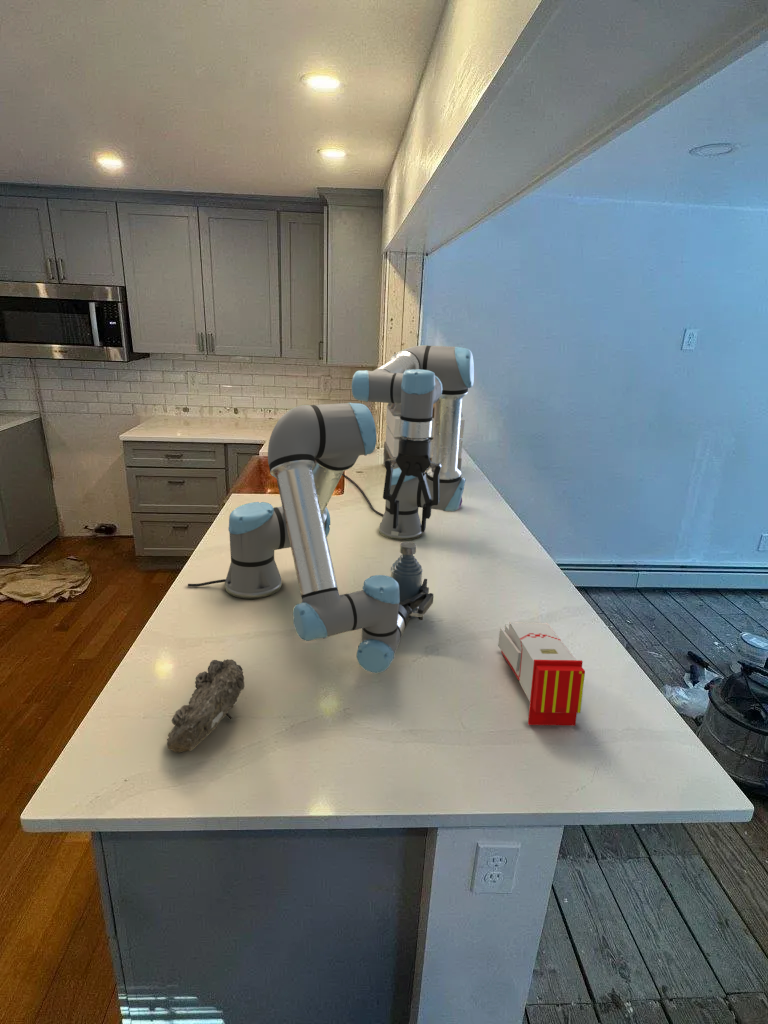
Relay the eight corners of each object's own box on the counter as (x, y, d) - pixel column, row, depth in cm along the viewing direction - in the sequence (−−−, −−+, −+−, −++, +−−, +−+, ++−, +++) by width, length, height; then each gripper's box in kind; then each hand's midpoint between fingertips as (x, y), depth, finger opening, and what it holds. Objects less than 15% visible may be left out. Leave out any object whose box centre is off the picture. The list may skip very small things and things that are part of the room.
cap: (400, 548, 146) (400, 540, 145) (415, 549, 145) (416, 541, 145) (399, 554, 142) (400, 547, 141) (415, 555, 142) (416, 548, 141)
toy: (544, 607, 134) (594, 667, 105) (539, 659, 137) (586, 732, 108) (493, 606, 134) (529, 666, 105) (489, 658, 137) (523, 731, 107)
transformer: (382, 463, 289) (386, 382, 275) (445, 464, 293) (451, 384, 279) (390, 482, 257) (394, 392, 243) (460, 483, 261) (468, 394, 247)
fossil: (192, 660, 117) (244, 628, 112) (224, 691, 120) (276, 661, 115) (142, 746, 98) (202, 712, 93) (182, 779, 101) (242, 748, 96)
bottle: (389, 602, 153) (392, 538, 147) (419, 603, 153) (424, 540, 147) (388, 617, 146) (391, 551, 139) (419, 619, 145) (424, 553, 139)
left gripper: (345, 630, 134) (370, 587, 155) (433, 645, 130) (447, 599, 151) (346, 602, 132) (371, 562, 153) (435, 616, 127) (449, 573, 148)
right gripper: (457, 437, 135) (449, 527, 143) (378, 430, 139) (375, 518, 147) (454, 444, 128) (446, 538, 136) (371, 436, 132) (368, 528, 140)
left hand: (409, 581), depth 152 cm, fingers closed on bottle, 8 cm apart
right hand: (409, 528), depth 141 cm, fingers open, 6 cm apart
